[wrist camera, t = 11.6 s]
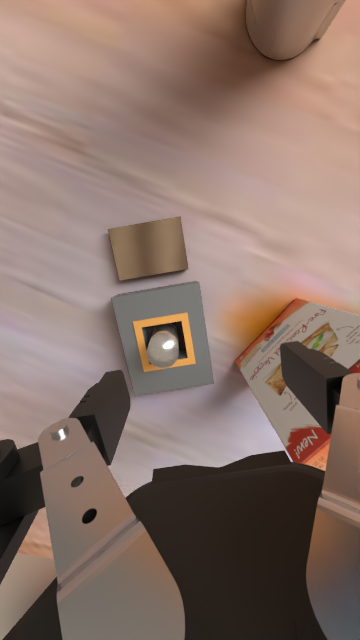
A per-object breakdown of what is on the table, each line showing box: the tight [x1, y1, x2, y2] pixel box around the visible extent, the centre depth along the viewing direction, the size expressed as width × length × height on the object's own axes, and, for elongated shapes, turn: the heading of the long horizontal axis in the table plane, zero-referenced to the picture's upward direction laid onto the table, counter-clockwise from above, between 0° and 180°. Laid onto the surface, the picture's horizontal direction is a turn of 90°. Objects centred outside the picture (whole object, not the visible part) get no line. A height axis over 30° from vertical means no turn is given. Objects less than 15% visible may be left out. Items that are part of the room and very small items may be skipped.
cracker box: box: [235, 298, 360, 471], centre depth 27 cm, size 14×6×21 cm, turn 139°
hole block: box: [111, 281, 214, 396], centre depth 34 cm, size 12×15×4 cm
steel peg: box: [147, 323, 179, 368], centre depth 32 cm, size 4×4×8 cm
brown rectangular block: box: [108, 217, 188, 280], centre depth 33 cm, size 10×7×2 cm
